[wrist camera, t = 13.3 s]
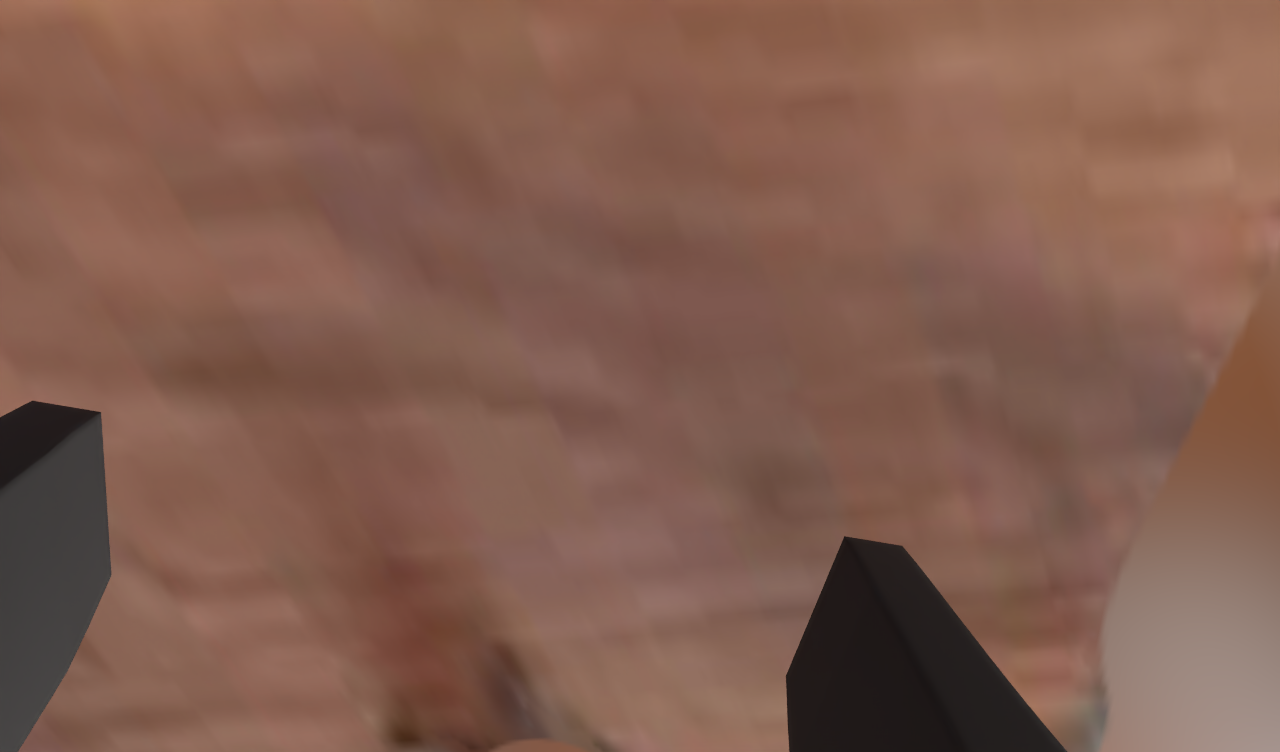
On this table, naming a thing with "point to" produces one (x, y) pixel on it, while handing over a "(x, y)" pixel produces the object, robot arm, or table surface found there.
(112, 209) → the table surface
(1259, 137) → the table surface
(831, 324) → the table surface
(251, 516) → the table surface
